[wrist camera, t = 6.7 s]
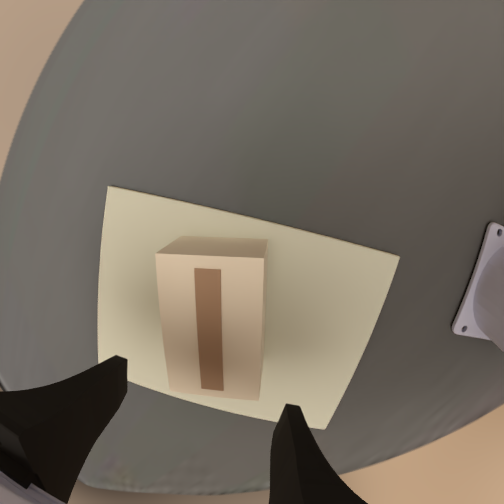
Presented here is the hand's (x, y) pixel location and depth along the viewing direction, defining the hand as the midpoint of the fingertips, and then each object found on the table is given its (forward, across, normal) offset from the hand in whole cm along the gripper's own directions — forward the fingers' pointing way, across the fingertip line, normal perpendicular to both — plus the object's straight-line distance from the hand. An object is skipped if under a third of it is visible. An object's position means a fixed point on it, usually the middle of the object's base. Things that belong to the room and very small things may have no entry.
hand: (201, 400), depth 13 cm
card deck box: (+7, 0, -2) cm, 7 cm away
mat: (+7, 0, 0) cm, 7 cm away
